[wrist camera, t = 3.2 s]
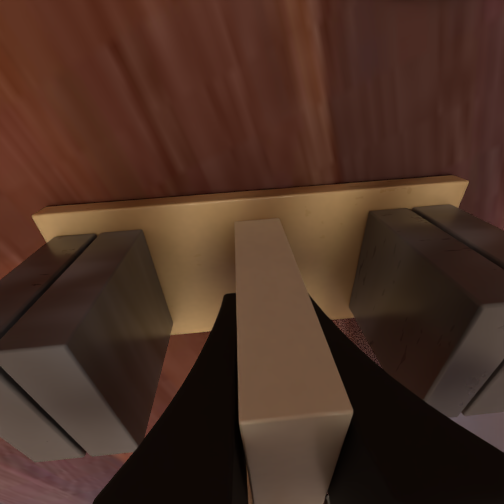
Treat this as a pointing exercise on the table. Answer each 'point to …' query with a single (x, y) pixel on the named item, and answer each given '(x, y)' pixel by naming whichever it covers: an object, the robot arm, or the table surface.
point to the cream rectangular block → (284, 374)
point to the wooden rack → (224, 281)
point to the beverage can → (326, 500)
